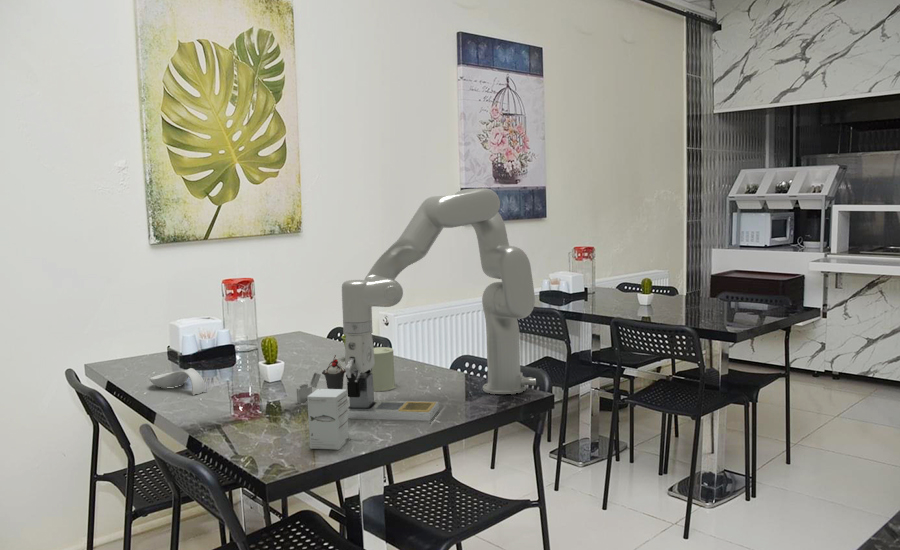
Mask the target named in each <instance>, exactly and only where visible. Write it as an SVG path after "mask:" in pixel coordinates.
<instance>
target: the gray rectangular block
mask: <svg viewBox="0 0 900 550" xmlns="http://www.w3.org/2000/svg"><path fill="white" fill-rule="evenodd" d="M354 375H355V376H356V374H354ZM358 382H360V397H348V398H349V402H350V409H370V408H372V407H373V406H374V400H375V392H374V386H373V373H360V375H359V379H358Z"/></svg>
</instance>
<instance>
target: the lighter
mask: <svg viewBox="0 0 900 550" xmlns="http://www.w3.org/2000/svg"><path fill="white" fill-rule="evenodd" d="M321 376H322V373H320V372H319V373H318V372H315V371H314V372H313V376H312V379H311V380H310V383H309V384H308V383H301V384H300V385H299V387H296V399H297V400H296V401H297V404H298V403H299V404H298V405H302V404H301V403H303V404H305V403H306V402H308V400H307V396H309V395H310V394H311V393H313V388H315V389H316V388H317V387H318V384H319V381H320V378H321Z"/></svg>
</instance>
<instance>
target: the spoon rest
mask: <svg viewBox="0 0 900 550" xmlns="http://www.w3.org/2000/svg"><path fill="white" fill-rule="evenodd" d="M188 378H189V380H190V382H191V383H190V384H191V390H192V394H191V395H193V394H197V393H201V392H204V391H208V390H207V386H206V382H205V381H204V379H203V377H202V375H200V373H199V372H198V371H197V370H195V368H191V367H190V368H188V369H186V370H183V369H182V370H176V371H172V372H167V373H165V372H164V373H163V374H157V375H155V376H152V377H150V378H149V381H150V382H151V383H152V384H153V385H154V386H156V387H158V388H160V387H161V388H160V389H162V388H167V387H175V386H179V385H181V386H182V385H183V384H185V383H186V382H187V380H188ZM201 394H202V393H201Z"/></svg>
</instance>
